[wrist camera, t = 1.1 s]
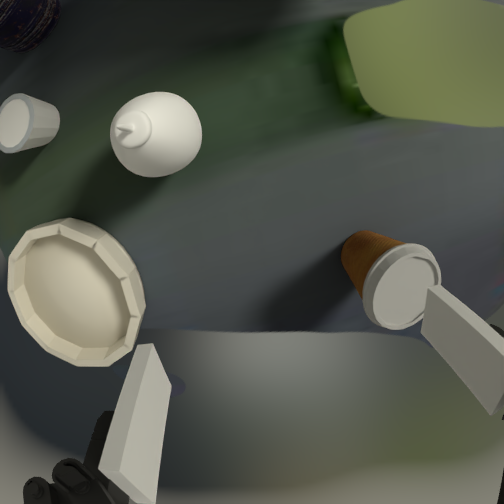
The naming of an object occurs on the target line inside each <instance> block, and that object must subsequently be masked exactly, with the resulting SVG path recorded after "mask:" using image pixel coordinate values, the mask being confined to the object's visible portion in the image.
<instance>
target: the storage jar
mask: <svg viewBox="0 0 504 504" xmlns="http://www.w3.org/2000/svg"><path fill="white" fill-rule="evenodd" d="M60 13H61V3H60V0H0V47H1V48H4V49H7V50H13V51H15V52H18V53H24V52H28V51H30V50H32V49H34V48H35V47H37V46H38V45H39V44H41V43H42V42H43V41H44V40H45V39H46V38H47V37H48V36H49V34H50V33H51V32H52V30H53V29H54V27H55V25H56V24H57V22H58V19H59V17H60Z"/></svg>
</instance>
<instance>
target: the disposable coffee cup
mask: <svg viewBox="0 0 504 504" xmlns="http://www.w3.org/2000/svg"><path fill="white" fill-rule="evenodd" d="M341 262H342V265H343V267H344V268H345V270H346V272H347V273H348V275H349V277H350V279H351V281H352V282H353V284H354V286H355V288H356V289H357V291H358V293H359V295H360V296H361V298H362V300H363V305H364V310H365V312H366V314H367V316H368V317H369V319H370V320H371V321H372V322H373V323H375V324H377V325H378V326H382V327H386V328H388V329H393V330H399V329H404V328H406V327H409V326H411V325H413V324H415V323H416V322H418V321H419V320H421V319H422V318H423V317H424V310H425V304H426V296H427V288H428V287H432V286H435V285H438V284H439V285H441V272H440V268H439V266H438V264H437V262H436V260H435V258H434V256H433V254H432V253H431V252H430V251H429V250H428V249H427V248H426V247H424V246H422V245H418V244H415V243H411V244H406V243H403V242H400V241H397V240H394V239H392V238H389V237H386V236H383V235H380V234H376V233H374V232H371V231H359V232H357V233H355V234H353V235H352V236H350V237H349V238H348V239H347V241H346V242H345V244H344V246H343V248H342V251H341Z"/></svg>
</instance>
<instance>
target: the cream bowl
mask: <svg viewBox="0 0 504 504" xmlns="http://www.w3.org/2000/svg"><path fill="white" fill-rule="evenodd" d="M8 293H9V296H10V298H11V301H12V303H13V306H14V308H15V311H16V313H17V315H18V318H19V320H20V322H21V324H22V326H23V327H24V328H25V329H26V330H27V331H28V333H29V334H30V335H31V336H32V337H33V338H34V339H35V340H36V341H37V342H38V343H39V344H40V345H41V346H42V347H43V348H44V349H45V350H46V351H47V352H49V353H51V354H53V355H55V356H57V357H59V358H61V359H63V360H65V361H67V362H69V363H71V364H74V365H75V366H109V365H111V364H112V363H114V362H115V361H117V360H118V359H120V358H121V357H122V356H124V355H125V354H127V353H128V352H130V351H131V350H132V349H133V346H134V343H135V341H136V338H137V335H138V332H139V328H140V325H141V322H142V319H143V315H144V311H145V308H146V303H145V293H144V288H143V283H142V280H141V277H140V274H139V272H138V269H137V267H136V265H135V263H134V262H133V260H132V258H131V257H130V255H129V254H128V252H127V251H126V250H125V248H124V247H123V246H122V245H121V244H120V243H119V242H118V241H117V240H116V239H115V238H114V237H113V236H112V235H110V234H109V233H108V232H106V231H105V230H103V229H102V228H100V227H99V226H96V225H94V224H92V223H90V222H87V221H84V220H80V219H74V218H63V219H57V220H54V221H51V222H48V223H44V224H40V225H38V226H36V227H34V228H32V229H30V230H28V231H26V233H25V234H24V236H23V237H22V238H21V240H20V241H19V243H18V244H17V246H16V247H15V248H14V250H13V251H12V253H11V254H10V256H9V264H8Z"/></svg>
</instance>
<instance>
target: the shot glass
mask: <svg viewBox="0 0 504 504" xmlns="http://www.w3.org/2000/svg"><path fill="white" fill-rule="evenodd" d="M59 124H60V116H59V112H58V110H57V109H56V107H55V106H53V105H51V104H49V103H47V102H44V101H41V100H39V99H36V98H33V97H31V96H28V95H25V94H22V93H19V94H13V95H12V96H10V97H9V98H7V99H6V100H5V101H4V102H3V104H2V105H1V107H0V150H2V151H3V152H5V153H15V152H19V151H23V150H26V149H30V148H35V147H39V146H43V145H45V144H47V143H49V142H51V140H52V139H53V138H54V137H55V136H56V133H57V131H58V129H59Z"/></svg>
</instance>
